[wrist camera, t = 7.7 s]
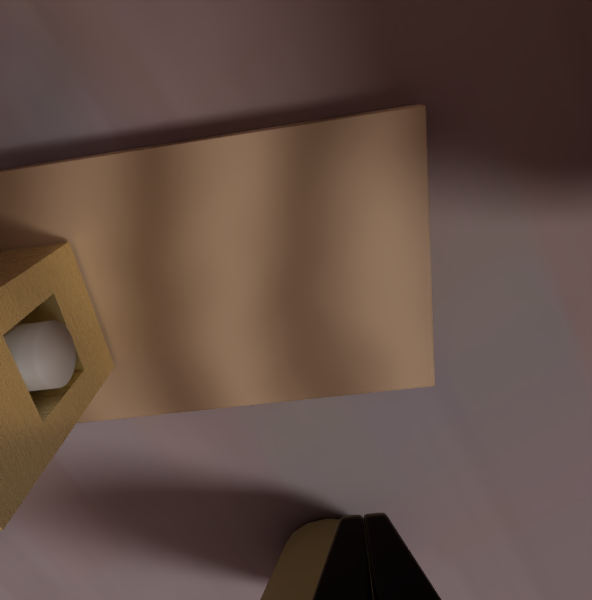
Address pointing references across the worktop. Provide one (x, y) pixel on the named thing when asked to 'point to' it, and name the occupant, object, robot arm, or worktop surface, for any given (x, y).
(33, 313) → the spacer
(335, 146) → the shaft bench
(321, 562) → the squeeze bottle
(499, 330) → the worktop surface
